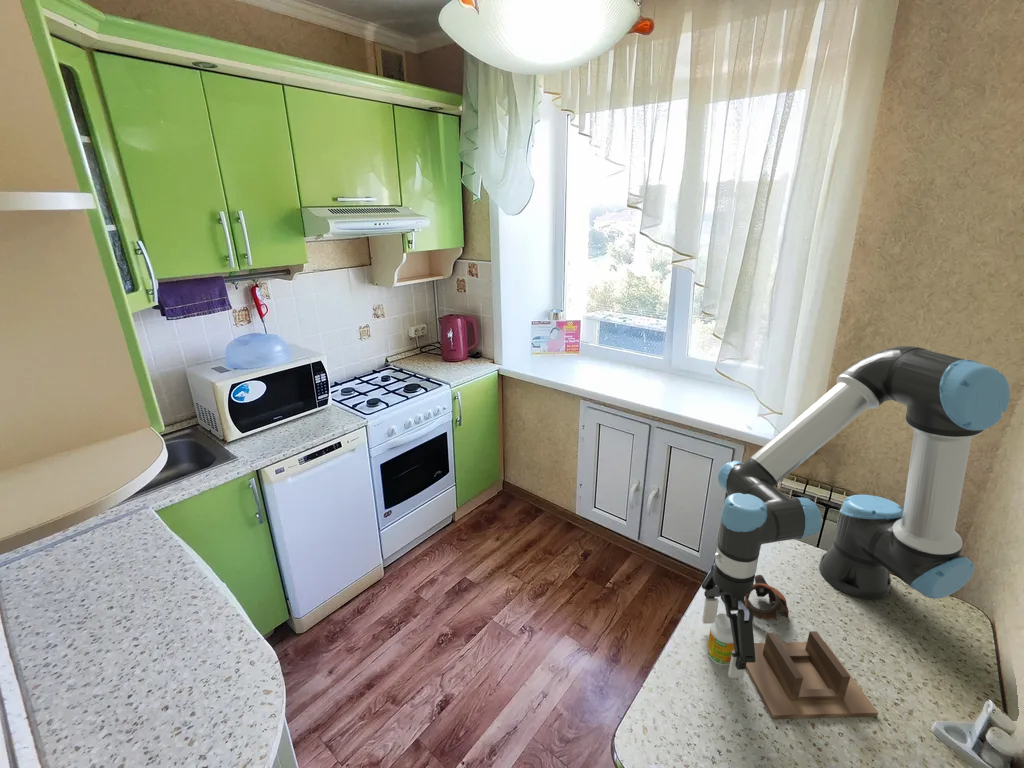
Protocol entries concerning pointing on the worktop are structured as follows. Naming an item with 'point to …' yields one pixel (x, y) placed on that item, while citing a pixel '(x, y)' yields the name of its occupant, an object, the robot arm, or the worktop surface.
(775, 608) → the pottery mug
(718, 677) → the worktop surface
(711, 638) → the supplement bottle
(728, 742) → the worktop surface
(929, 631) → the worktop surface
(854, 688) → the wooden cradle tray
